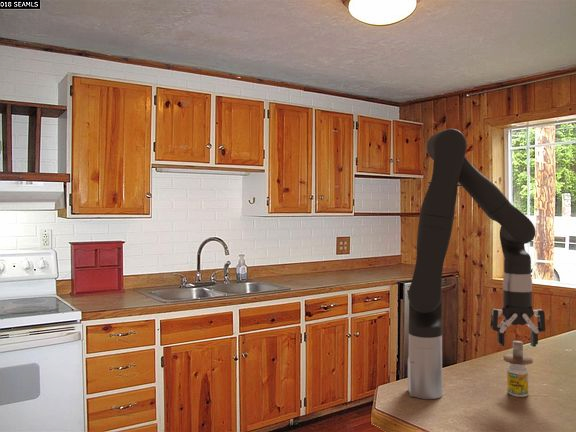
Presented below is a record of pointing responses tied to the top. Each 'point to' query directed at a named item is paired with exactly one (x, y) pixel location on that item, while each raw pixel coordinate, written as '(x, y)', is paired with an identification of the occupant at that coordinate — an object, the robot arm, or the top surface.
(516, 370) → the supplement bottle
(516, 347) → the lid
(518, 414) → the top surface
